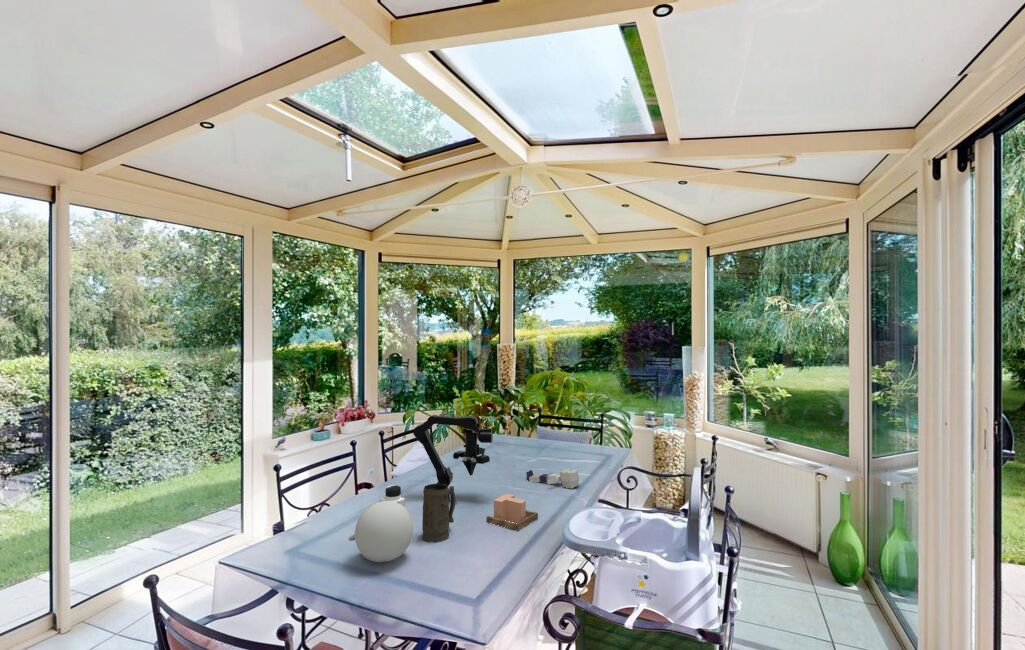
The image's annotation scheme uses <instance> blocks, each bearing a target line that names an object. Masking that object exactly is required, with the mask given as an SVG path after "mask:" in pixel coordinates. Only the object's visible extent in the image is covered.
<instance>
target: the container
mask: <svg viewBox="0 0 1025 650" xmlns="http://www.w3.org/2000/svg"><path fill="white" fill-rule="evenodd" d="M401 489H402V487H401V486H399V485H396V484H395V485H394V484H392V485H388V486H386V487H385V492H384V493H385V497H384V498H381V499H380V502H383V501H392V502H396V503H399V504H401V505H402V506H404V507H405V508H406V498H404V497H401V495H402V493H401V491H402V490H401Z"/></svg>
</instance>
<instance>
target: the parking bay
mask: <svg viewBox="0 0 1025 650" xmlns="http://www.w3.org/2000/svg"><path fill="white" fill-rule="evenodd" d="M538 519H539V513H538V512H535V511H531V510H527V509H526V519H524V520H522V521H521V522H519V523H517V524H516V523H512V522H509V521H505V520H501V519H498V518H494V516H490V515H487V516H486V522H488V523H487V524H490V523H492V524H491V525H493V524H495V525H494V526H497V525H499V526H498V527H501V526H502V527H501V528H504V527H505V528H504V529H508V528H509V530H511V529H512V531H515V530H516V531H515V532H518V530H519V531H521V530H522V529H524V528H526V527H527V526H529V525H530V524H531V523H532V524H533V522H535V521H537V520H538ZM523 527H524V528H523ZM520 529H521V530H520Z"/></svg>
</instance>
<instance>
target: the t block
mask: <svg viewBox="0 0 1025 650" xmlns="http://www.w3.org/2000/svg"><path fill="white" fill-rule="evenodd" d="M526 502H527V501H526V500H524V499H519V498H515V495H514V494H509V493H506V494H504V495H502V496H500V497H497V498H495V499H493V517H494V518H498V519H501V520H506V521H510V522H514V523H519V522H521V521H522V520H524V519H526V518H527V517H526V510H527V509H526V507H527V505H526V504H527V503H526Z"/></svg>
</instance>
